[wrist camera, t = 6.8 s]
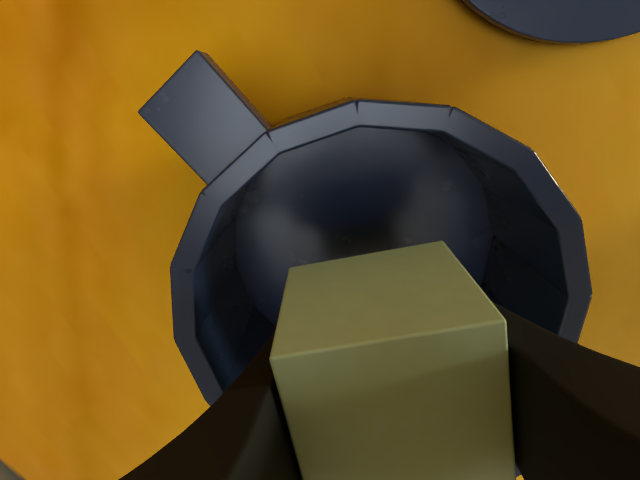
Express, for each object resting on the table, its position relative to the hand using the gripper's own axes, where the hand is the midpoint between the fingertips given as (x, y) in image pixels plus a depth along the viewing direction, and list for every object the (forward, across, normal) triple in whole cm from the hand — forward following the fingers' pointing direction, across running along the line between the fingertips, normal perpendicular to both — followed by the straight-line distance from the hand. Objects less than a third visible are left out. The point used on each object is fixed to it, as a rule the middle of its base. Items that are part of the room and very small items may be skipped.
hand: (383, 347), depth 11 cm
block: (+1, 0, 0) cm, 1 cm away
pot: (+8, 0, 0) cm, 8 cm away
